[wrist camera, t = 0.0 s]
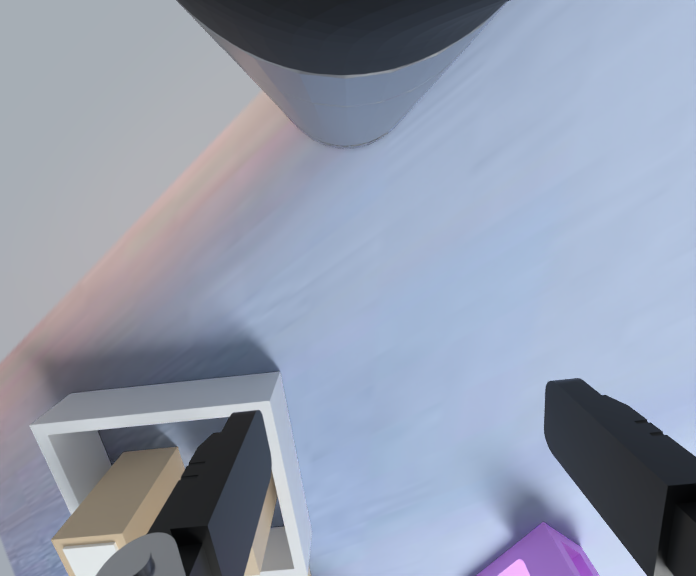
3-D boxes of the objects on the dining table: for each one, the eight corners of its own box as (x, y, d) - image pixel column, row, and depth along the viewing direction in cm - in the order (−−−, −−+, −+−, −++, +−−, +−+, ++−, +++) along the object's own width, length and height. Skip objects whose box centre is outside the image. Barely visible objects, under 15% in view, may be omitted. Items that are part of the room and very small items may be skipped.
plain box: (215, 442, 31) (172, 528, 23) (270, 437, 31) (245, 522, 23) (228, 486, 32) (191, 580, 25) (280, 481, 32) (260, 574, 25)
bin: (70, 393, 29) (29, 425, 26) (280, 371, 29) (269, 400, 25) (134, 547, 35) (107, 592, 31) (312, 531, 34) (307, 576, 30)
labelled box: (121, 452, 31) (45, 543, 23) (177, 446, 31) (120, 536, 23) (137, 494, 33) (71, 593, 25) (191, 489, 33) (142, 587, 25)
